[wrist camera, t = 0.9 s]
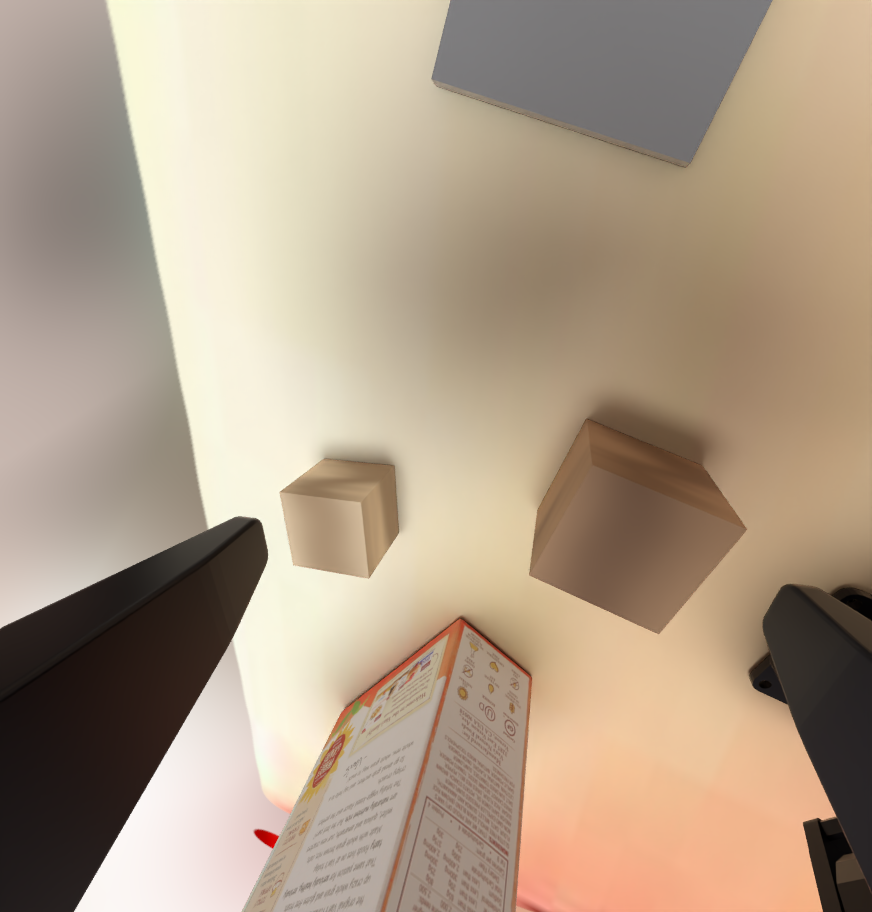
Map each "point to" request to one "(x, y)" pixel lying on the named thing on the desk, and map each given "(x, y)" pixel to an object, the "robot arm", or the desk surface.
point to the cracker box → (413, 793)
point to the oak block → (341, 516)
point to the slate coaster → (602, 64)
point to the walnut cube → (631, 527)
